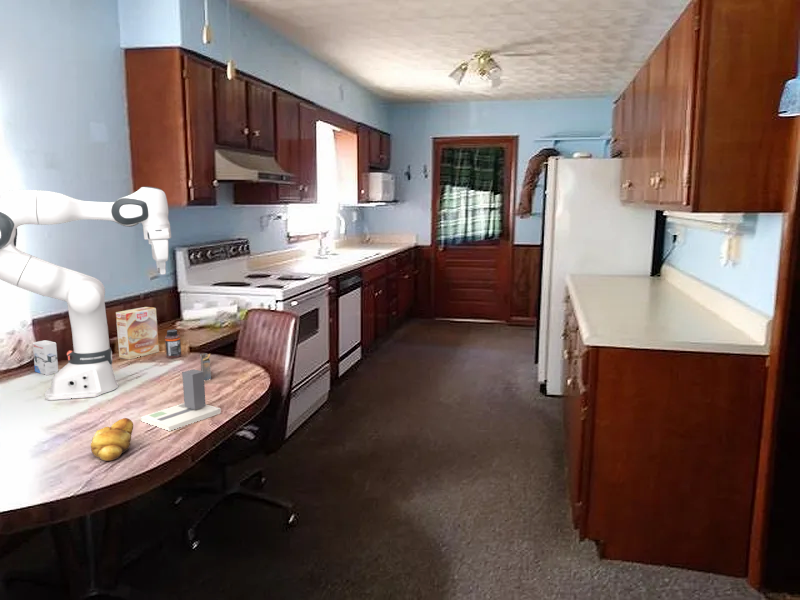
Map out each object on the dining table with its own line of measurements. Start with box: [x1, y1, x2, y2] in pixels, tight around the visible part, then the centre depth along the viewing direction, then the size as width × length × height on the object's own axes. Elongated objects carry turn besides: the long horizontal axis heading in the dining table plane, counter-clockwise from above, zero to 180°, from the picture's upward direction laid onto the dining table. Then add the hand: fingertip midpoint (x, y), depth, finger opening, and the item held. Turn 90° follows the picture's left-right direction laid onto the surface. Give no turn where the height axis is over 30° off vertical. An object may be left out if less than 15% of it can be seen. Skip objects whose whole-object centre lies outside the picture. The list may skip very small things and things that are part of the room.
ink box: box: [32, 339, 59, 376], centre depth 232 cm, size 9×5×12 cm, turn 58°
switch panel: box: [140, 402, 222, 432], centre depth 184 cm, size 18×14×2 cm
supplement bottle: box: [164, 329, 182, 359], centre depth 253 cm, size 6×6×11 cm
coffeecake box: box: [115, 306, 160, 360], centre depth 256 cm, size 15×7×20 cm, turn 151°
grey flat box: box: [199, 353, 212, 381], centre depth 226 cm, size 11×3×10 cm, turn 22°
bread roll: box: [90, 417, 134, 462], centre depth 157 cm, size 13×10×8 cm
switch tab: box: [181, 368, 207, 410], centre depth 186 cm, size 4×5×11 cm
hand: (161, 273), depth 213 cm, fingers open, 8 cm apart
